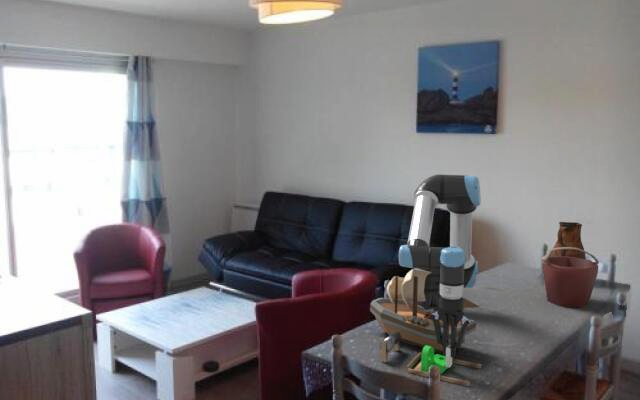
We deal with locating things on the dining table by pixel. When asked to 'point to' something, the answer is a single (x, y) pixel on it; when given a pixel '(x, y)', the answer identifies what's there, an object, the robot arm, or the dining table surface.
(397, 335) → the winch
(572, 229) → the pitcher
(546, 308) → the dining table surface
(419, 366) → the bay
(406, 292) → the sailing ship
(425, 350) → the mechanical part
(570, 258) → the bucket
